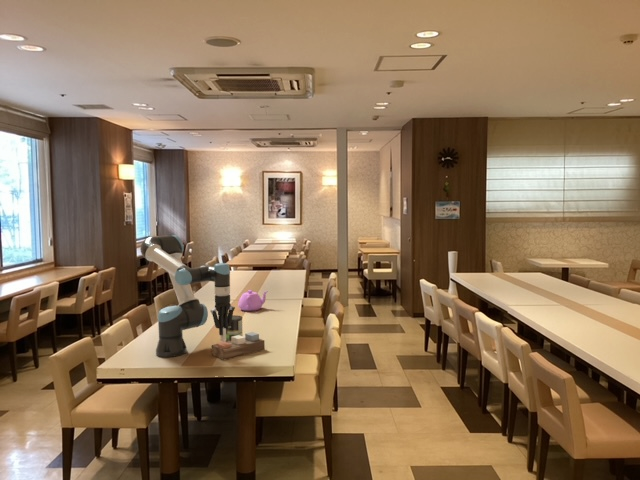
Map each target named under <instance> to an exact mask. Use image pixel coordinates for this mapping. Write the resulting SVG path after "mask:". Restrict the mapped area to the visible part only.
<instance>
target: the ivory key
mask: <svg viewBox="0 0 640 480" xmlns="http://www.w3.org/2000/svg"><path fill="white" fill-rule="evenodd" d="M231 343H234V344H237V345H239V344H244V343H245V336H244V335H243V336H240V335H237V336H232V337H231Z"/></svg>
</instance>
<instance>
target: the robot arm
mask: <svg viewBox="0 0 640 480" xmlns="http://www.w3.org/2000/svg"><path fill="white" fill-rule="evenodd" d="M184 247H185V246H184V242H183V240H182V238H180V237H179V236H178V235H175V234H166V235H153V236H148V237H146V238H145V239H143V241H142V242H141V244H140V249H139V250H140V254H141V256H142V257H143V258H144V259H145V260H147V261H148V262H153V263H155V264H156V265H158V266H159V267H160V268H162V269H163V270H165V271H166V272H168V275H169V278H170V282H171V284H172V286H173V289H174V293H175V295H176V297H177V301H178V305H172V306H171V305H170V306H166V307H163V308H162V309H160V310H159V311H158V315H157V322H158V341H157V346H156V348H155V355H156V357H161V358H173V357H179V356H182V355H184V354H186V353H187V351H188V349H187V344H186V342H185V340H184V337H183V331H186V330H190V329H193V328H198V327H201V326H204V325H206V322H207V320H208V316H209V311H208V308H207V306H206V305H205V304H204V303H200V300H199V298H197V297H195V294H194V292H193V291H194V290H193V288H192V287H191V285H192V284H198V283H204V282H214V304H215V305H214V308H213V309H210V313H211V315H212V318H213V323H214V326H215V328H216V329H218V333H219V336H220V342H226V334H227V329H228V328H229V326H231V321H232V316H233V315H234V311H235V310H236V307H235V306H232V305H231V295H230V294H231V270H230V264H228V263H226V262H219V263H215V264H214V265H213V266H211V265H207V264H206V265H201V266H199V267H189V266H188V265H186V264H185V263H183V261H182V257H183V252H184V251H185V250H184Z"/></svg>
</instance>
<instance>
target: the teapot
mask: <svg viewBox="0 0 640 480" xmlns="http://www.w3.org/2000/svg"><path fill="white" fill-rule="evenodd" d="M268 291H269V290H265V291H263V293H262V298H261V296H260V295H259V294H258V293H257V292H255V291H253V290H252V289H249V290H247V292H244V293H242V295H241V296H240V298H239V300H238V304H237V305H238V308H239V309H240V310H241V311H244V312H247V311H249V312H252V311H253V312H254V311H258V310H261V308H262V307H263V305H264V304H265V303H266V300H267V299H266V297H267V296H266V294H267V293H268Z"/></svg>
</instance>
